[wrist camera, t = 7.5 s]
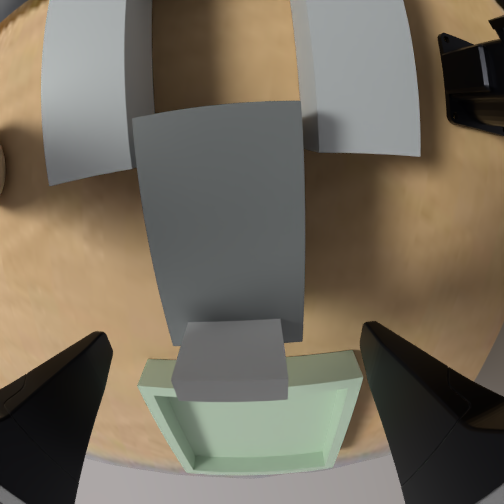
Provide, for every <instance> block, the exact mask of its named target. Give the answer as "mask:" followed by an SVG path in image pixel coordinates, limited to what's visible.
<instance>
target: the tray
mask: <svg viewBox="0 0 504 504" xmlns="http://www.w3.org/2000/svg"><path fill="white" fill-rule="evenodd" d="M176 361H177V360H159V359H148V360H147V362H146V365H145V367H144V370H143V372H142V375H141V377H140V380H139V383H138V385H137V386H138V388H139V390H140V392H141V394H142V396H143V398H144V400H145V402H146V404H147V406H148V408H149V410H150V412H151V414H152V416H153V418H154V420H155V421H156V423H157V425H158V427H159V429H160V430H161V432H162V434H163V436H164V437H165V439H166V441H167V442H168V444H169V446H170V447H171V449H172V451H173V452H174V454H175V455H176V457H177V459H178V460H179V462H180V463H181V465H182V466H183V468H184V469H185V471H186V472H187V473H195V474H210V475H269V474H284V473H296V472H305V471H313V470H320V469H327V468H333V465H334V463H335V460H336V458H337V455H338V453H339V450H340V448H341V445H342V442H343V440H344V437H345V434H346V431H347V428H348V425H349V422H350V419H351V416H352V413H353V410H354V407H355V404H356V401H357V397H358V394H359V391H360V387H361V384H362V380H363V375H362V372H361V370H360V367H359V365H358V362H357V360H356V357H355V355H354V352H353V350H348V351H341V352H333V353H325V354H316V355H306V356H295V357H286V364H287V371H288V400H275V401H255V402H193V401H179V400H178V398H177V395H176V393H175V390H174V387H173V385H172V382H171V378H172V374H173V371H174V367H175V364H176Z"/></svg>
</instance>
